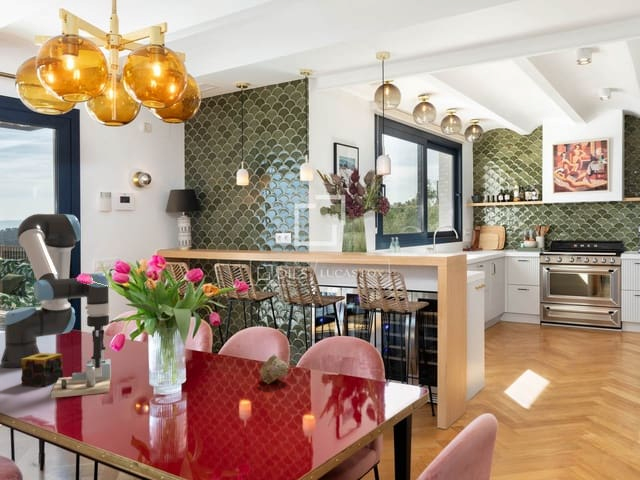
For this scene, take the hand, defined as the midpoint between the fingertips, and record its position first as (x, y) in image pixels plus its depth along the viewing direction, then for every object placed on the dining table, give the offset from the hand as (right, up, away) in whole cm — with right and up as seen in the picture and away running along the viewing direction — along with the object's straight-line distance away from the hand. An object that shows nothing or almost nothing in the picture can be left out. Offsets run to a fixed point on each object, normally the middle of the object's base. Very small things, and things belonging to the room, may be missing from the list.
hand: (98, 372), depth 200 cm
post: (+2, -2, -12) cm, 12 cm away
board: (-3, -4, -7) cm, 9 cm away
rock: (+65, -3, -3) cm, 65 cm away
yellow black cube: (-21, -4, -1) cm, 21 cm away
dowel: (-6, -2, -14) cm, 16 cm away
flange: (-2, -2, -1) cm, 3 cm away
